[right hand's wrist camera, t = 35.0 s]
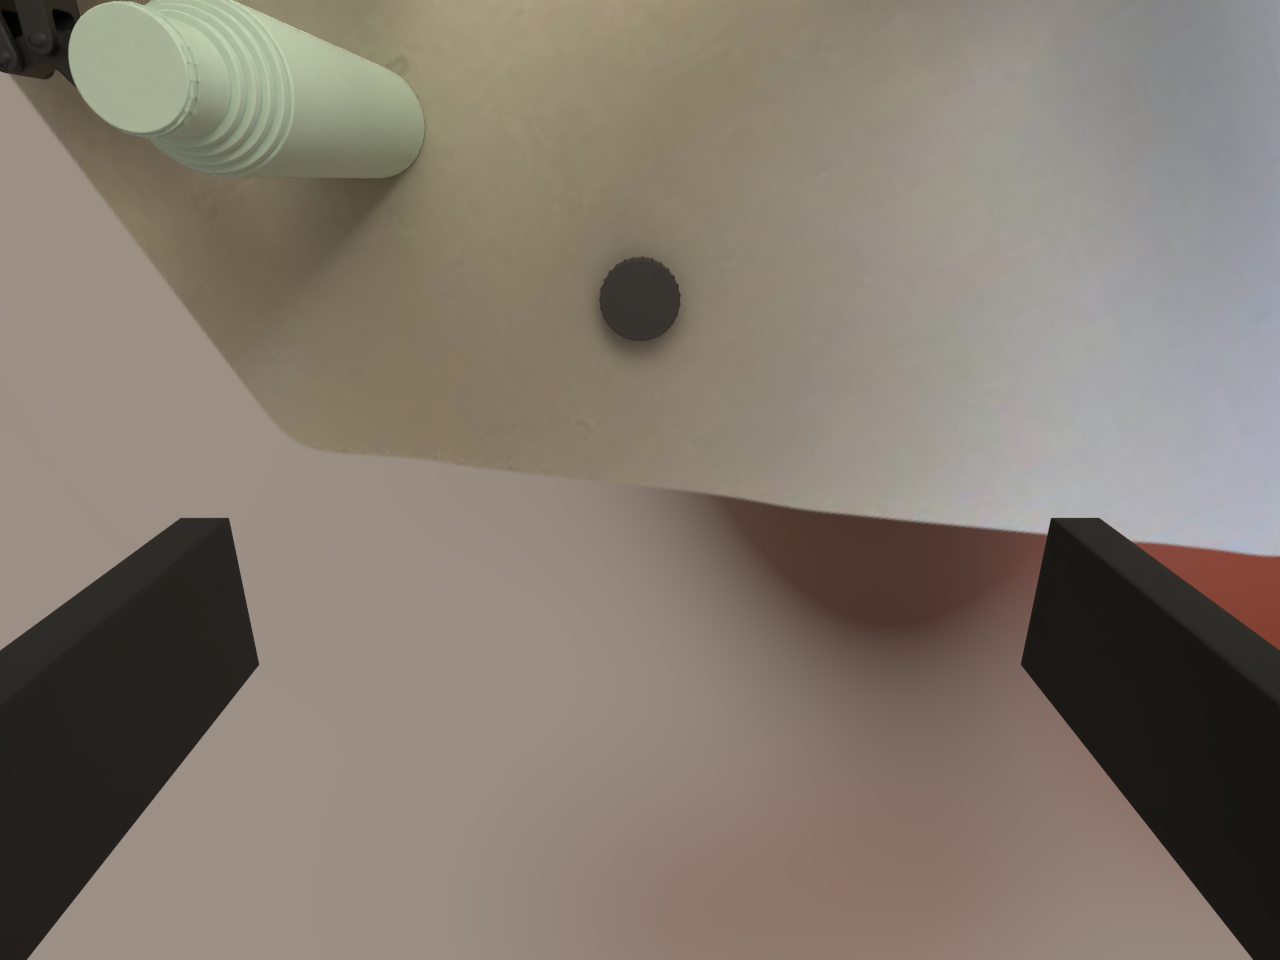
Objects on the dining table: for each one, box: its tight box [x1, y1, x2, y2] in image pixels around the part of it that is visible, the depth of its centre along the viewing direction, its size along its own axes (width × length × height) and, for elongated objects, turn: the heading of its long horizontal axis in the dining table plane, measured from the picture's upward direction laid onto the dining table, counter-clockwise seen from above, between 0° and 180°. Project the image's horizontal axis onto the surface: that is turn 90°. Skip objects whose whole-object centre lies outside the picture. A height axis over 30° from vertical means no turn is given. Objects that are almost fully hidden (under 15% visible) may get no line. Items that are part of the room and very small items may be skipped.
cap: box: [600, 257, 681, 341], centre depth 45 cm, size 5×5×2 cm
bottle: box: [68, 0, 425, 178], centre depth 32 cm, size 6×6×22 cm
